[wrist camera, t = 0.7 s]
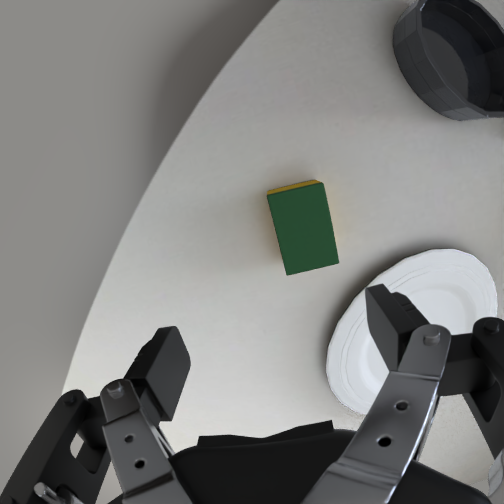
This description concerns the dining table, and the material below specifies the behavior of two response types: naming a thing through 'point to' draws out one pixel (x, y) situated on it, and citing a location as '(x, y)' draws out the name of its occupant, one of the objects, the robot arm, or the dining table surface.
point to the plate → (426, 301)
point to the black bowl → (453, 57)
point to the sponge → (303, 226)
